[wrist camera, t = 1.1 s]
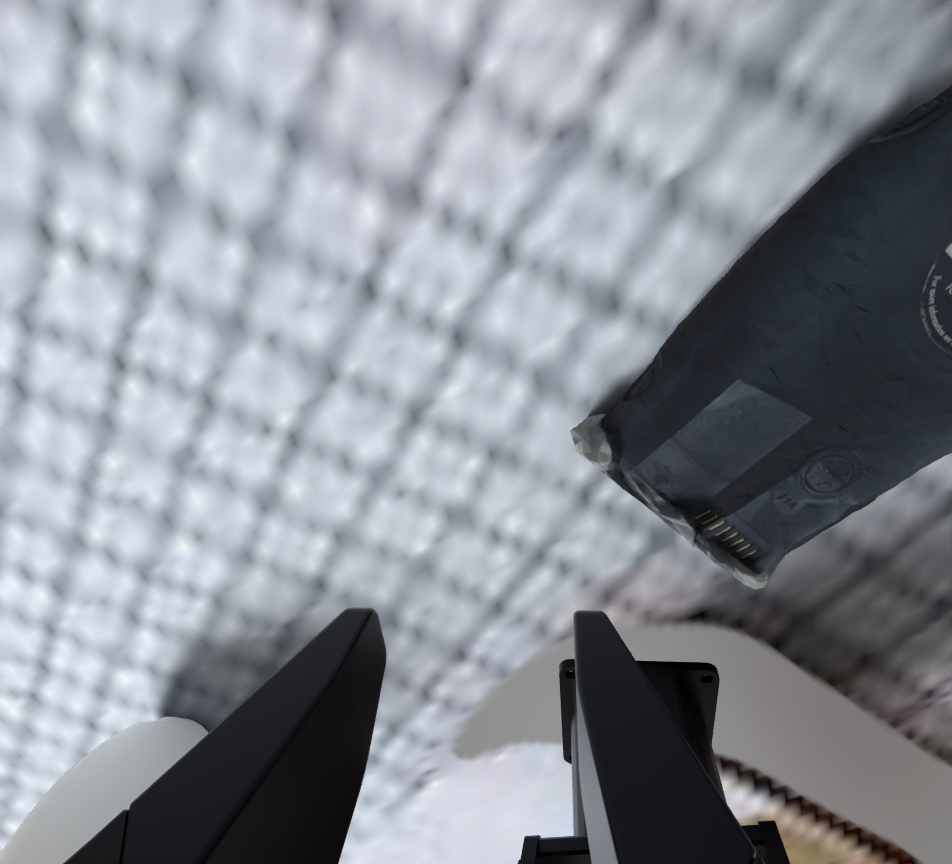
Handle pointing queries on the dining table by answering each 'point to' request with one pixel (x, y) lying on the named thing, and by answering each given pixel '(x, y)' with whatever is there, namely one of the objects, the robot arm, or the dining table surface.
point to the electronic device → (803, 364)
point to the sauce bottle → (100, 789)
